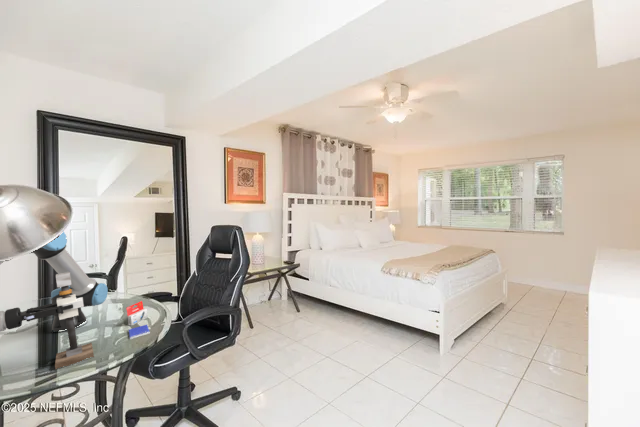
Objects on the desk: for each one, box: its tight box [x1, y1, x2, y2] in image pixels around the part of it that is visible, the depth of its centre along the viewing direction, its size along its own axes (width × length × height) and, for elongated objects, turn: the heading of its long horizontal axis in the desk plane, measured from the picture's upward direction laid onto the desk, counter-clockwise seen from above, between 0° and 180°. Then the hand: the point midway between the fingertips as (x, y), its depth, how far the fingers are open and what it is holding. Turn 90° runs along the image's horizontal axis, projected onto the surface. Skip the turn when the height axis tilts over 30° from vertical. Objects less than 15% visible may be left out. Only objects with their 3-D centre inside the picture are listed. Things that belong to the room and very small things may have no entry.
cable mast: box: [54, 272, 95, 370], centre depth 125 cm, size 14×12×36 cm
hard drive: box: [128, 324, 151, 340], centre depth 146 cm, size 2×8×12 cm
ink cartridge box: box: [125, 300, 149, 326], centre depth 162 cm, size 2×11×10 cm, turn 168°
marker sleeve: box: [57, 294, 78, 320], centre depth 124 cm, size 6×6×8 cm
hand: (83, 301), depth 128 cm, fingers closed on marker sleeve, 6 cm apart
